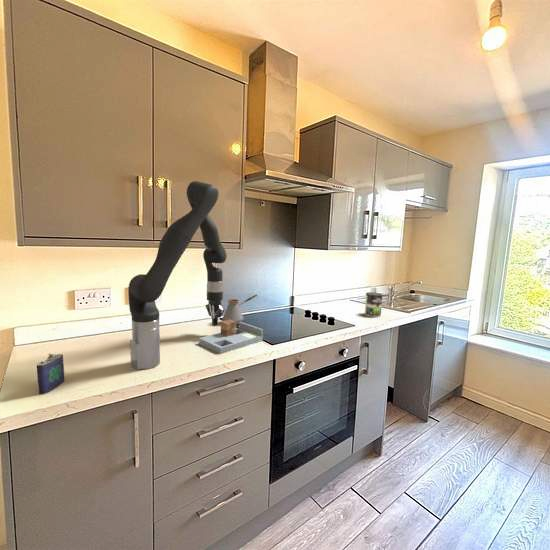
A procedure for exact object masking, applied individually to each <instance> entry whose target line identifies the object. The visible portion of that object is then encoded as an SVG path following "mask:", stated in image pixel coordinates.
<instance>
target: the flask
mask: <svg viewBox="0 0 550 550" xmlns="http://www.w3.org/2000/svg"><path fill="white" fill-rule="evenodd" d="M47 355H48V357H47V358H46V359H44V361H43V360H41V361H40V362H38V363H37V364H36V374H37V384H38V394H39V395H46V394H47V393H50V392H51V391H53V390H55V389H56V388H58V387H60V386H61V385H62V384H63V383H64V382H65V379H66V378H65V370H64V368H65V367H64V365H65V364H64V355H63V354H62V353H59V354H58V353H57V354H56V353H47Z"/></svg>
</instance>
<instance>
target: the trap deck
mask: <svg viewBox="0 0 550 550" xmlns="http://www.w3.org/2000/svg"><path fill="white" fill-rule="evenodd" d="M263 336H264V329H263V328H260V327H257V326H254V325H251V324H248V323H245V322H243V321H242V322H239V324H238V327H236V334H235V335H232V336H228V337H227V336H225V335H222V334H221V332H218V333H214V334H210V335H206V336H202V337H199V338H198V344H199V345H201V346H203V347H205V348H207V349H209V350H212V351H214V352H215V353H218V354H220V355H221V354H225V353H228V351H229V352H232V351H235V350H237V349H240V348H244V347H247V345H248V346H250V344H251V345H254V344H256V342H257V343H259V341H260V342H262V341H261V340H263V341H264V339H263V338H264V337H263ZM253 343H254V344H253ZM231 350H232V351H231Z"/></svg>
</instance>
